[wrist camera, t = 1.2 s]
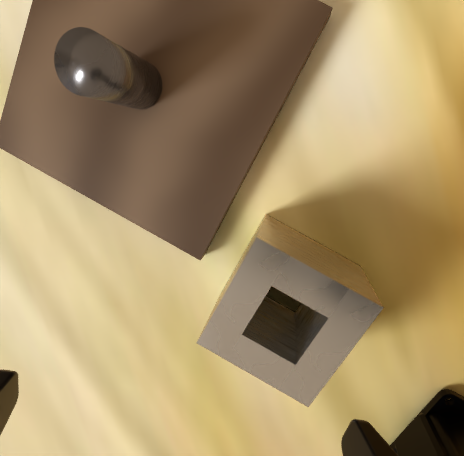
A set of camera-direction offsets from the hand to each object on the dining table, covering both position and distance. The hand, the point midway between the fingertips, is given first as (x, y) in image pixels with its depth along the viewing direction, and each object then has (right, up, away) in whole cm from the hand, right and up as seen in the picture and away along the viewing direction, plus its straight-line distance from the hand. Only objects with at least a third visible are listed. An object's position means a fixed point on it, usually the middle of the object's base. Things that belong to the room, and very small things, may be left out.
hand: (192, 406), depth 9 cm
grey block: (+4, +2, +11) cm, 12 cm away
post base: (-4, +12, +9) cm, 16 cm away
